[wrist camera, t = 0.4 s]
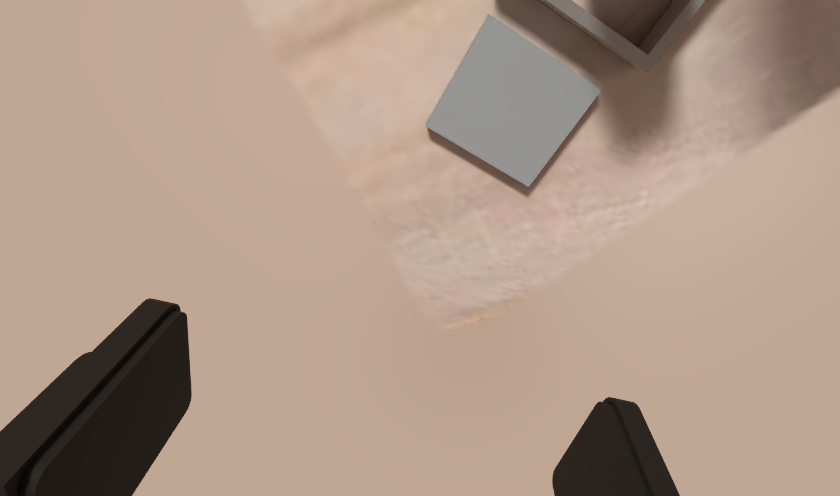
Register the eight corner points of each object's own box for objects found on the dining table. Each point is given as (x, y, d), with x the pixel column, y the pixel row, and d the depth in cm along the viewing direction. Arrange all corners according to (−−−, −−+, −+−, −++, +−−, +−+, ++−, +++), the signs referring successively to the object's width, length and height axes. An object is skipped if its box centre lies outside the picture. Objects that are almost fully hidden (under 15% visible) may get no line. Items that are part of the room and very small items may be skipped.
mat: (488, 14, 31) (489, 14, 30) (597, 87, 33) (601, 89, 32) (426, 122, 35) (425, 126, 34) (526, 182, 37) (528, 187, 36)
